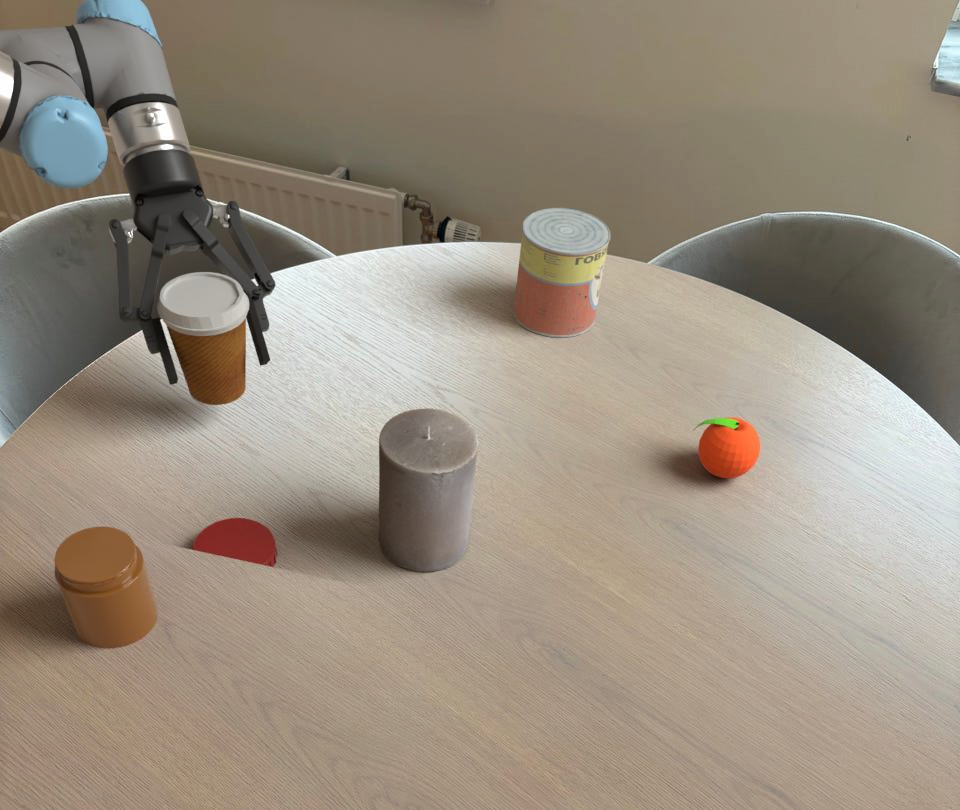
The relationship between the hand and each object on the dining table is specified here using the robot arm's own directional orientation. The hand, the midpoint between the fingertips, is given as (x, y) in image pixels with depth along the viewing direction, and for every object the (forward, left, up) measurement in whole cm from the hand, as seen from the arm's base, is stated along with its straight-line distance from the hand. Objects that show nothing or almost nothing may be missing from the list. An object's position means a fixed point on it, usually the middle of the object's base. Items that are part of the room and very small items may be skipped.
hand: (220, 372), depth 107 cm
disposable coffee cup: (-2, +2, -5) cm, 5 cm away
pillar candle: (+26, -11, -8) cm, 29 cm away
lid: (+8, -19, -7) cm, 21 cm away
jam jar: (+1, -31, -8) cm, 32 cm away
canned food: (+32, +36, -8) cm, 49 cm away
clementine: (+56, +10, -8) cm, 58 cm away
